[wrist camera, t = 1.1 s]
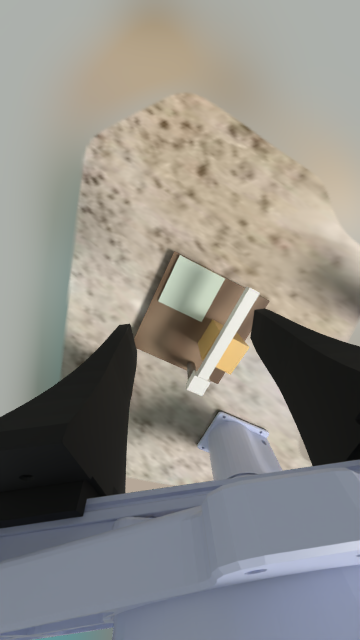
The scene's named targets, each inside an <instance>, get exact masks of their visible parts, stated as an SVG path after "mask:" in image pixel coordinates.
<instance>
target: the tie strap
mask: <svg viewBox="0 0 360 640" xmlns="http://www.w3.org/2000/svg"><path fill="white" fill-rule="evenodd" d="M259 294H260V293H259V292H257V291H255V290H253V289H251V288H249V287H246V288H245V290H244V292H243V293H242V295H241V297H240V299H239V300H238V302H237V304H236V306H235V307H234V309H233V311H232V312H231V314H230V316H229V318H228V319H227V321H226V323H225V324H224V326H223V328H222V330H221V331H220V333H219V335H218V337H217V338H216V340H215V342H214V343H213V345H212V347H211V349H210V350H209V352H208V354H207V355H206V357H205V359H204V361H203V362H202V364H201V366H200V368H199V369H198V371H195V370H194V371H193V373H192V374H191V376H190V378H189V379H188V381H187V383H186V388H187V390H189V391H191V392H194V393H196V394H198V395H201V396H203V394H204V392H205V391H206V389H207V387H208V386H209V384H210V379H209V377H210V375H211V374H212V372H213V370H214V369H215V367H216V365H217V364H218V362H219V360H220V359H221V357H222V355H223V354H224V352H225V350H226V349H227V347H228V345H229V344H230V342H231V340H232V339H233V337H234V335H235V334H236V332H237V331H238V329H239V327H240V326H241V324H242V322H243V321H244V319H245V317H246V316H247V314H248V312H249V311H250V309H251V307H252V306H253V304H254V302H255V301H256V299H257V297H258V296H259Z"/></svg>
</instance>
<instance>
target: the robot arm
mask: <svg viewBox="0 0 360 640" xmlns="http://www.w3.org/2000/svg"><path fill="white" fill-rule="evenodd" d="M250 338H251V340H252V343H253V345H254V347H255V349H256V352H257V353H258V355H259V357H260V358H261V360H262V362H263V363H264V365H265V366H266V368H267V369H268V371H269V373H270V374H271V376H272V377H273V379H274V381H275V382H276V384H277V386H278V387H279V389H280V391H281V393H282V395H283V397H284V399H285V401H286V403H287V405H288V408H289V410H290V412H291V414H292V416H293V419H294V421H295V423H296V425H297V428H298V430H299V433H300V435H301V437H302V440H303V442H304V444H305V447H306V449H307V452H308V455H309V458H310V460H311V463H312V465H313V466H311V467H305V468H298V469H291V470H284V471H283V470H282V468H281V466H280V464H279V462H278V460H277V458H276V456H275V454H274V452H273V450H272V448H271V446H270V444H269V442H268V440H267V437H268V436H269V433H268V431H266V430H264V429H262V428H259V427H257V426H255V425H252V424H250V423H248V422H245V421H243V420H240V419H238V418H236V417H233V416H231V415H229V414H226V413H224V412H219V413H218V414H217V415H216V417H215V418H214V420H213V422H212V423H211V425H210V426H209V428H208V429H207V431H206V432H205V434H204V435H203V437H202V438H201V440H200V441H199V443H198V445H197V446H198V448H199V449H201V450H204V451H206V452H209V454H210V460H211V466H212V473H213V479H214V481H208V482H201V483H194V484H187V485H180V486H173V487H166V488H160V489H152V490H145V491H138V492H131V493H125V480H126V451H127V433H128V418H129V407H130V400H131V394H132V389H133V383H134V378H135V372H136V365H137V349H136V345H135V341H134V337H133V333H132V329H131V325H130V324H124V325H119V326H118V327H117V328H116V329H115V330H114V332H113V333H112V334H111V335H110V336H109V337H108V338H107V340H106V341H105V342H104V343H103V344H102V345H101V346H100V347H99V348H98V349H97V350H96V351H95V352H94V353H93V354H92V355H91V356H90V357H89V358H88V359H87V360H86V361H85V362H84V363H83V364H81V365H80V366H79V367H78V368H77V369H75V370H74V371H73V372H72V373H71V374H69V375H68V376H66V377H65V378H64V379H62V380H61V381H60V382H58V383H57V384H55V385H54V386H53V387H51V388H50V389H48V390H47V391H45V392H43V393H42V394H40V395H39V396H37V397H35V398H34V399H32V400H30V401H29V402H27V403H25V404H24V405H22V406H20V407H18V408H16V409H15V410H13V411H11V412H9V413H7V414H5V415H3V416H2V417H0V640H32V639H39V638H46V637H53V636H59V635H66V634H73V633H80V632H86V631H93V630H100V629H107V628H113V627H114V628H113V637H112V640H360V347H359V346H356V345H352V344H349V343H346V342H343V341H339V340H337V339H334V338H331V337H328V336H325V335H323V334H320V333H318V332H315V331H313V330H311V329H308V328H306V327H304V326H301V325H299V324H297V323H295V322H293V321H291V320H289V319H287V318H285V317H283V316H281V315H279V314H276V313H274V312H272V311H270V310H268V309H265V308H264V309H256V310H254V316H253V323H252V330H251V337H250ZM260 431H261V432H260Z"/></svg>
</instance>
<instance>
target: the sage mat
mask: <svg viewBox="0 0 360 640" xmlns="http://www.w3.org/2000/svg"><path fill="white" fill-rule="evenodd" d="M224 280H225V278H223V277H221V276H219V275H217V274H215V273H213V272H212V271H210V270H208V269H206V268H204V267H202V266H200V265H198V264H196V263H194V262H192V261H190V260H189V259H187V258H185V257H183V256H181V255H180V256H179V258H178V260H177V262H176V264H175V266H174V269H173V271H172V273H171V275H170V277H169V279H168V281H167V283H166V286H165V288H164V290H163V292H162V294H161V296H160V298H159V300H158V301H159V302H161V303H163V304H165V305H167V306H169V307H171V308H173V309H175V310H177V311H179V312H182V313H184V314H186V315H188V316H190V317H192V318H194V319H196V320H198V321H200V322H202V320H203V318H204V316H205V315H206V313H207V311H208V309H209V307H210V305H211V304H212V302H213V300H214V298H215V296H216V295H217V293H218V291H219V289H220V287H221V285H222V284H223V282H224Z"/></svg>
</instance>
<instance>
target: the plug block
mask: <svg viewBox="0 0 360 640" xmlns="http://www.w3.org/2000/svg"><path fill="white" fill-rule="evenodd" d="M223 326H224V325H222V324H220V323H218V322H217V321H215V320H213V319H212V321H211V323H210V324H209V326H208V328H207V329H206V331H205V332H204V334H203V336H202V337H201V339H200V340H199V342H198V347H199V351H200V355H201V360H203V361H204V359H205V357H206V355H207V354H208V352H209V350H210V349H211V347H212V345H213V343H214V342H215V340H216V338H217V337H218V335H219V333H220V331H221V330H222V328H223ZM248 349H249V346H248V345H247V344H246V343H245V341H244V340H243V339H242V338H241V337H240V335H239V334H238V333H237V332H236V334H235V335H234V337H233V339H232V340H231V342H230V344H229V345H228V347H227V349H226V350H225V352H224V354H223V355H222V357H221V359H220V360H219V362H218V364H217V365H216V368H218V369H220V370H222V371H224V372H226V373H228V374H230V375H231V373H232V372H233V370H234V369H235V367H236V366H237V365H238V363H239V362H240V360H241V359H242V357H243V356H244V355H245V353H246V352H247V350H248Z"/></svg>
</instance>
